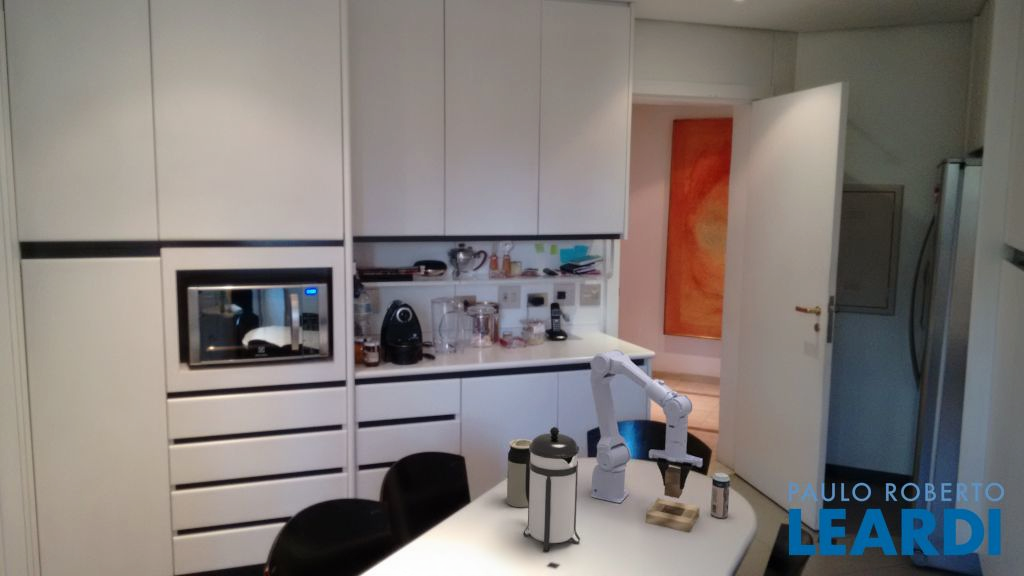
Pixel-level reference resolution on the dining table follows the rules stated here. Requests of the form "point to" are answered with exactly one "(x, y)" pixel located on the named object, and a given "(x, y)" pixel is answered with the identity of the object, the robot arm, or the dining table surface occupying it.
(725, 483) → the beer can
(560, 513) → the coffee press
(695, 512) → the oak socket block
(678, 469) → the walnut peg
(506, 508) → the dining table surface
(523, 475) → the travel mug
